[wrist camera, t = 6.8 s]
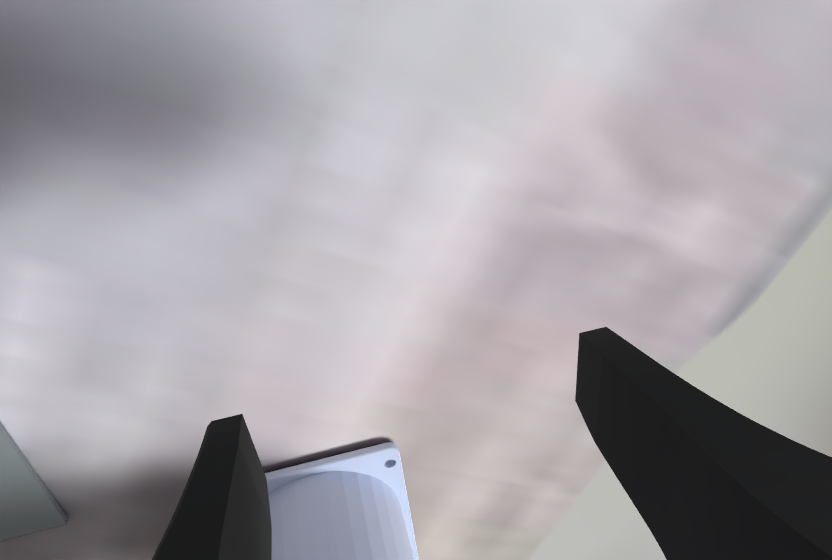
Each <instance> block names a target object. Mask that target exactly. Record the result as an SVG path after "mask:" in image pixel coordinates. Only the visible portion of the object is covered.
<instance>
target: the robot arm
mask: <svg viewBox="0 0 832 560" xmlns="http://www.w3.org/2000/svg"><path fill="white" fill-rule="evenodd" d="M575 401H576V403H577V405H578V407H579V409H580V412H581V414H582V416H583V418H584V420H585V423H586V425H587V427H588V429H589V431H590V433H591V435H592V437H593V439H594V441H595V443H596V445H597V446H598V448H599V450H600V451H601V453H602V454H603V456H604V458H605V459H606V461H607V462H608V464H609V466H610V467H611V469H612V470H613V472H614V473H615V475H616V477H617V478H618V480H619V481H620V483H621V484H622V486H623V488H624V489H625V491H626V492H627V494H628V495H629V497H630V499H631V500H632V502H633V503H634V505H635V507H636V508H637V510H638V511H639V513H640V514H641V516H642V518H643V519H644V521H645V522H646V524H647V526H648V527H649V529H650V530H651V532H652V534H653V535H654V537H655V539H656V541H657V542H658V544H659V546H660V547H661V549H662V551H663V553H664V555H665V557H666V559H667V560H832V457H829V456H827V455H825V454H822V453H819V452H817V451H815V450H813V449H810V448H808V447H806V446H804V445H802V444H799V443H797V442H795V441H793V440H791V439H789V438H786V437H785V436H783V435H781V434H778V433H776V432H774V431H772V430H770V429H768V428H766V427H764V426H762V425H760V424H758V423H756V422H754V421H753V420H751V419H749V418H747V417H745V416H743V415H741V414H740V413H738V412H736V411H734V410H733V409H731V408H729V407H728V406H726V405H724V404H722V403H720V402H719V401H717V400H715V399H714V398H712V397H710V396H708V395H707V394H705V393H704V392H702V391H700V390H699V389H697V388H696V387H694V386H692V385H691V384H689V383H688V382H686V381H685V380H683V379H682V378H680V377H679V376H677V375H675V374H674V373H672V372H671V371H669V370H668V369H666V368H665V367H663V366H662V365H660V364H659V363H658V362H656V361H655V360H653V359H652V358H650V357H649V356H647V355H646V354H644V353H643V352H642V351H640V350H639V349H637V348H636V347H634V346H633V345H632V344H630V343H629V342H627V341H626V340H624V339H623V338H622V337H620V336H619V335H617V334H616V333H614V332H613V331H611V330H610V329H608V328H607V327H604V328H600V329H595V330H591V331H587V332H583V333H580V334H579V350H578V367H577V383H576V400H575ZM388 460H390V461H388ZM152 560H419V558H418V553H417V547H416V541H415V536H414V530H413V525H412V519H411V514H410V508H409V502H408V497H407V491H406V486H405V480H404V475H403V469H402V463H401V458H400V452H399V449H398V446H397V445H396V444H395V443H391V442H388V443H383V444H379V445H375V446H371V447H367V448H363V449H359V450H355V451H351V452H347V453H343V454H339V455H335V456H331V457H327V458H323V459H319V460H315V461H311V462H307V463H304V464H300V465H296V466H292V467H288V468H284V469H280V470H276V471H272V472H268V473H264V471H263V468H262V465H261V463H260V460H259V457H258V455H257V452H256V449H255V447H254V444H253V441H252V439H251V436H250V433H249V431H248V428H247V426H246V423H245V420H244V418H243V415H242V414H240V415H236V416H232V417H227V418H223V419H219V420H215V421H211V423H210V424H209V425H208V427H207V430H206V433H205V436H204V439H203V442H202V445H201V448H200V450H199V453H198V456H197V459H196V461H195V464H194V467H193V469H192V472H191V474H190V477H189V479H188V482H187V485H186V487H185V489H184V492H183V494H182V496H181V498H180V501H179V503H178V505H177V508H176V510H175V512H174V515H173V517H172V519H171V521H170V524H169V526H168V528H167V530H166V532H165V534H164V536H163V538H162V540H161V542H160V544H159V546H158V548H157V550H156V552H155V554H154V556H153V558H152Z"/></svg>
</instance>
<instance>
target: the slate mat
mask: <svg viewBox="0 0 832 560" xmlns="http://www.w3.org/2000/svg"><path fill="white" fill-rule="evenodd" d="M67 521H68V517H67V516H66V514H65V513H64V511H63V510H62V509H61V507H60V506H59V504H58V503H57V501H56V500H55V499H54V497H53V496H52V494H51V493H50V492H49V490H48V489H47V487H46V486H45V484H44V483H43V482H42V480H41V479H40V477H39V476H38V474H37V473H36V472H35V470H34V469H33V467H32V466H31V465H30V463H29V462H28V460H27V459H26V457H25V456H24V455H23V453H22V452H21V450H20V449H19V447H18V446H17V445H16V443H15V442H14V440H13V439H12V438H11V436H10V435H9V433H8V432H7V430H6V429H5V428H4V426H3V425H2V423H1V422H0V541H2V540H6V539H10V538H14V537H18V536H22V535H26V534H30V533H34V532H38V531H42V530H46V529H50V528H54V527H58V526H62V525H66V524H67Z"/></svg>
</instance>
